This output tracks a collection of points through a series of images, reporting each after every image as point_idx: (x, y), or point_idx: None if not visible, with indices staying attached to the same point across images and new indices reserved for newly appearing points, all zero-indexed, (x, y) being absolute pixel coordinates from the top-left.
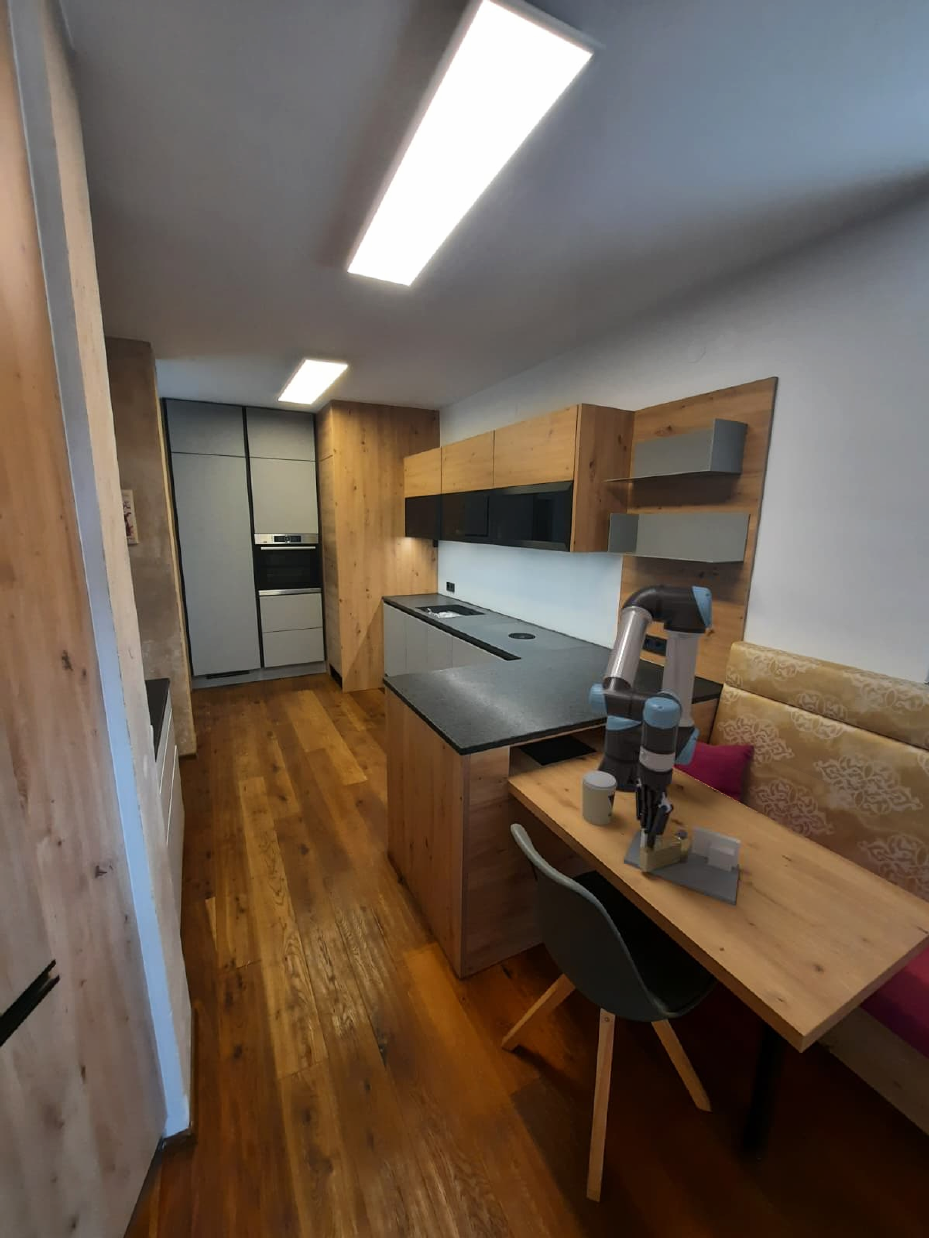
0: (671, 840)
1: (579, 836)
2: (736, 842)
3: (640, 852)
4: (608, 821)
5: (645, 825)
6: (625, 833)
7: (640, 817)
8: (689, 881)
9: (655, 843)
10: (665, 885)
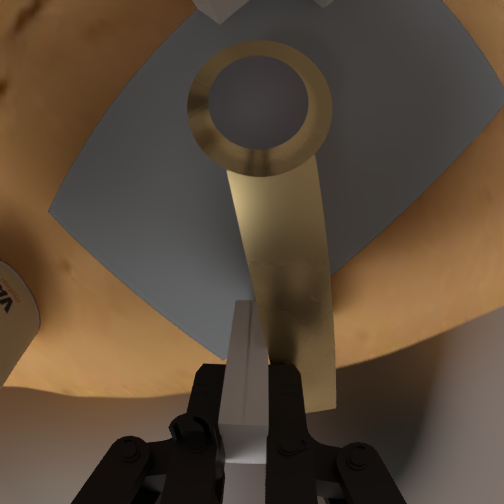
0: (262, 215)
1: (102, 389)
2: None
3: None
4: (21, 287)
5: (223, 472)
6: (62, 254)
7: (161, 490)
8: (410, 182)
9: (272, 343)
10: (374, 272)
